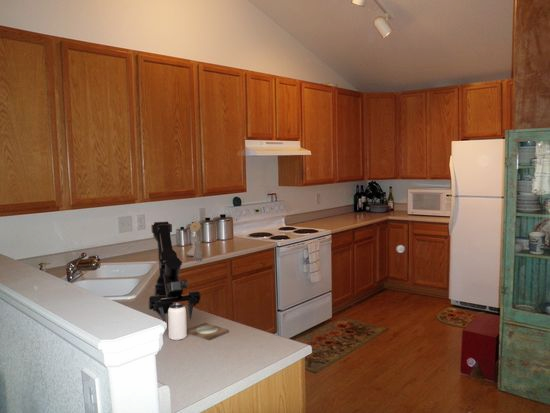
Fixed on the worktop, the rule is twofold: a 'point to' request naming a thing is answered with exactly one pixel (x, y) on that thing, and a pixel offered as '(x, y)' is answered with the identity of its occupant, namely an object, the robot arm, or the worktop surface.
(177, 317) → the can
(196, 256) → the salt shaker
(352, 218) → the worktop surface
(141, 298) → the worktop surface
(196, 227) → the flower in vase
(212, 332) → the coaster board
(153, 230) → the robot arm
